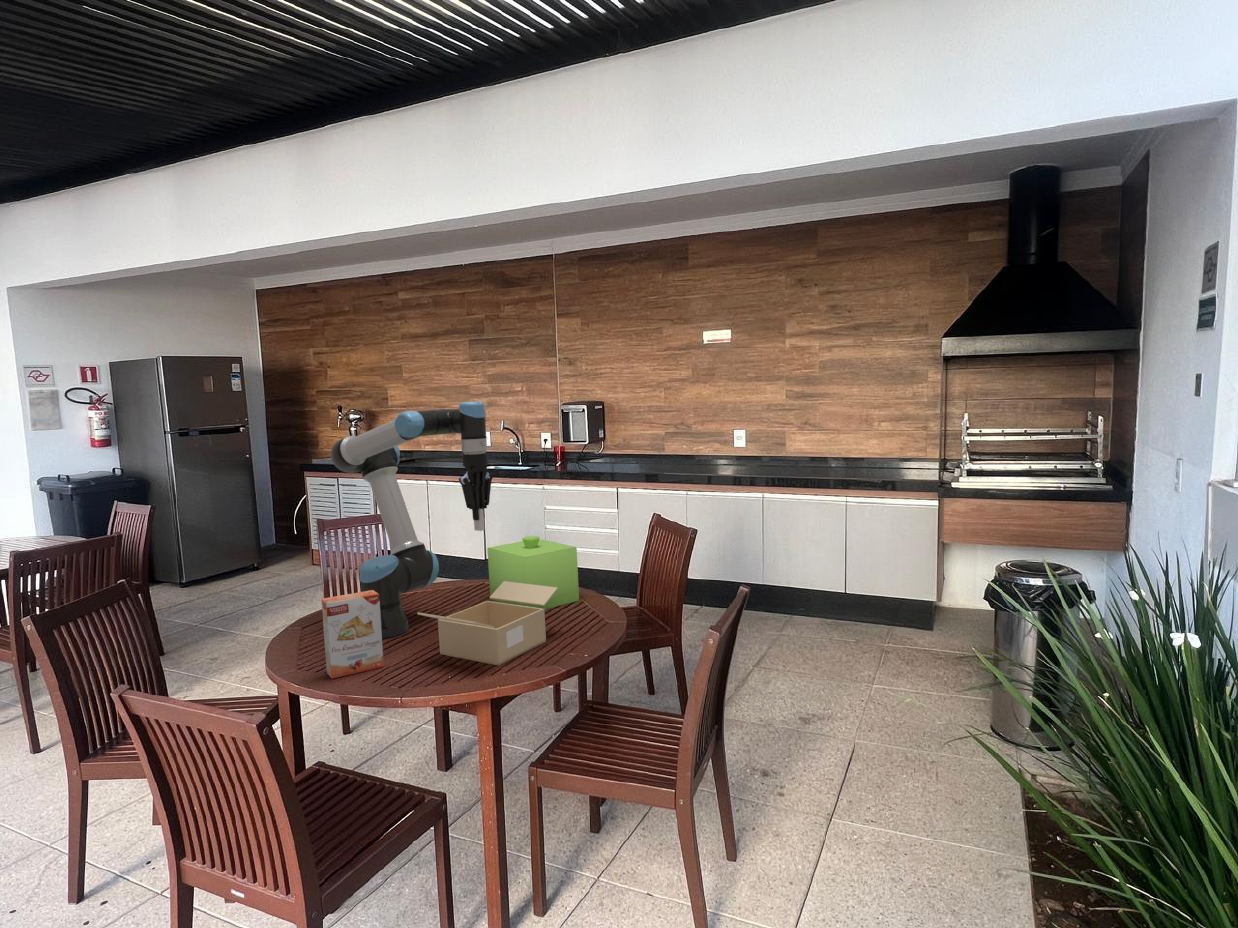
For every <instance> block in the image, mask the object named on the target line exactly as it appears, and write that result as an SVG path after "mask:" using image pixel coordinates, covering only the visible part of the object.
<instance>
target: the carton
mask: <svg viewBox="0 0 1238 928" xmlns="http://www.w3.org/2000/svg"><path fill="white" fill-rule="evenodd" d="M545 615H546V614H545V610H544V609H542V608H535V607H527V606H520V605H513V604H506V603H499V602H494V601H492V600H486V601H483V602H481V603H478V604H475V605H473V606H470V607H468V608H465V609H462V610H460V611H457V612H455V613H452V614H450V615H447V616H446V617H450V618H456V619H462V620H468V621H475V622H479V623H483V624H487V625H491V626H494V628H491V627H484V626H478V625H472V624H466V623H460V622H454V621H448V620H442V619H437V626H438V627H437V630H438V642H439V654H440V655H443V656H449V657H453V658H459V659H462V660H463V659H464V660H468V661H473V662H479V663H483V664H488V665H494V666H498V667H499V666H501V665H504V664H505V663H508V662H509V661H511V660H513V659H516V658H518V657H519V656H522V655H523V654H526V653H527V652H529V651H531V650H533V649H535V648H537V647H540V646H541V645H543V644H545V643H547V635H546V632H547V631H546V621H545V620H546V616H545Z"/></svg>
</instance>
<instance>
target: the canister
mask: <svg viewBox="0 0 1238 928" xmlns="http://www.w3.org/2000/svg"><path fill="white" fill-rule="evenodd" d="M577 549H578V547H576V546H573V545H568V544H564V543H560V542H555V541H552V540H551V541H550V540H545V539H541V538H540V536H538V535H528V536H527V535H526V536H524V537H522V541H516V542H511V543H506V544H500V545H496V546H490V547H487V564H488V567H487V568H488V580H489V592H490V593H489V595H490V596H491V595H492V594H493V593H494V592H495V590H496V589H497V588H498V587H499V586H500V585H501V584H502V583H503V582H504V581H507V582H516V583H524V584H532V585H541V586H549V587H557V588H558V590H557V591H556V592H555V593H554V595H553V596H552V597H551V598H550V600H549V601H548V602H547V603H546V605H545V606H540V605H533V604H525V603H518V602H511V601H504V600H496V599H490V598H489V599H490V600H489V601H492V602H499V603H506V604H513V605H520V606H527V607H535V608H542V609H544V611H545V610H548V609H552V608H555V607H560V606H564V605H568V604H571V603H575V602H578V601H580V588H579V572H578V570H579V569H578V566H579V565H578V550H577ZM490 596H489V597H490Z"/></svg>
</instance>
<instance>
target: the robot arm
mask: <svg viewBox="0 0 1238 928" xmlns="http://www.w3.org/2000/svg"><path fill="white" fill-rule="evenodd" d="M458 406H459V407H458V408H442V409H441V408H439V409H428V410H408V411H403V412H399V413H398V414H397V416H396V417H395V418H394V419H393V420H391V421H388V422H386V423H384V424H381V425H379V426H377V427H375V428H372V429H370V430H368V431H366V432H363V433H361V434H358V435H350V436H344V437H343V438H341V439H339V440H337V441H336V442H334V444H333V446H332V448H331V450H330V459H331V462H332V463H333V465H334V466H335V467H336V468H337V469H338V470H339V471H341V472H343V473H349V474H355V473H361V475H362V476H361V477H362V479H363V480H364V481H365V482H367V483H369V485H370V488H371V490H372V494H373V497H374V499H375V502H376V505H377V508H378V510H379V515H380V518H381V521H382V523H383V526H384V529H385V531H386V534H387V537H388V540H389V543H390V546H391V548H392V550H391V552H390V554H386V555H381V556H376V557H373V558H370V559H367V560H365V561H364V562H363V563H362V564H361V565H360V566H359V581H360V592H364V591H369V590H374V591H375V592H377V593H378V594H379V600H380V615H381V631H382V640H383V639H389V638H394V637H396V636H399V635H403V634H404V633H406V632H408V630H409V620H408V619H407V616H406V614H405V611H404V609H403V605H402V600H401V598H402V597H401V595H402V594H406V593H409V592H412V591H415V590H418V589H423V588H425V587H428V586H430V585H432V584H434V582H435V581H436V580H437V577H438V574H439V572H440V565H439V560H438V559H439V558H438V557H437V556H436V554H435V552H434V553H433V551H431V550H429V549H427V548H426V546H425V543H423V542H421V541H419V540H418V537H417V534H416V532H415V529H414V526H413V523H412V519H411V517H410V513H409V511H408V508H407V505H406V503H405V500H404V496H403V494H402V491H401V488H400V485H399V482H398V479H397V477H396V473H397V472H398V470H399V468H398V465H399V463H400V461H401V458H400V457H401V453H400V452H401V451H400V448H399V446H401V445H402V444H405V443H407V442H409V441H412V440H415V439H417V438H420V437H426V436H427V437H428V436H436V435H439V436H440V435H450V434H451V435H452V434H460V441H461V442H460V443H461V452H462V453H463V454H462V455H461V457H462V466H463V467H464V469H465V470H464V475H463V476H462V477H459V478H458V482H459V483H460V485H461V488H462V492H463V497H464V501H465V505H466V508H467V509H469V510H471V512H472V520H473V525H474V527H473V528H474V531H476V532H477V531H479V532H482V531H485V517H486V516H485V515H486V514H485V509H487V508H488V506H489V504H490V497H491V488H492V481H493V478H494V473H489V472H488V468H487V466H488V465H489V458H488V457H489V456H488V455H489V454H488V453H487V451H488V442H487V426H486V424H487V423H486V415H487V414H486V410H485V409H486V408H485V403H483V402H482V401H464V402H463V401H462V402H459V404H458Z"/></svg>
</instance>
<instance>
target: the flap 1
mask: <svg viewBox="0 0 1238 928" xmlns="http://www.w3.org/2000/svg"><path fill="white" fill-rule="evenodd" d="M416 614H417V615H420V616H423V617H428V618H432V619H433V618H434V619H437V620H439V619H442V620H448V621H454V622H460V623H466V624H472V625H478V626H484V627H491V628H494V626H491V625H487V624H483V623H479V622H475V621H468V620H462V619H456V618H450V617H447V616H443V615H437V614H431V613H430V614H429V613H424V612H417V613H416Z"/></svg>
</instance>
